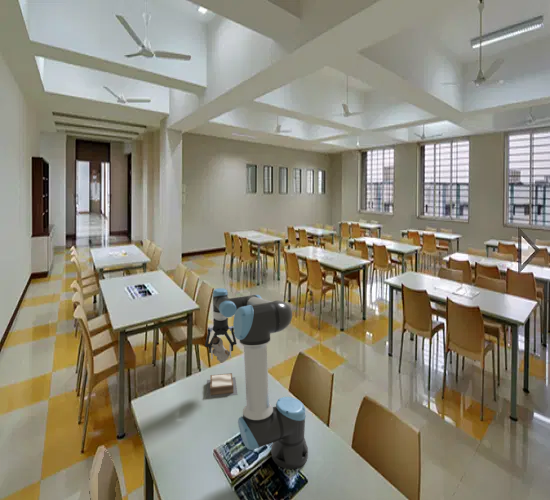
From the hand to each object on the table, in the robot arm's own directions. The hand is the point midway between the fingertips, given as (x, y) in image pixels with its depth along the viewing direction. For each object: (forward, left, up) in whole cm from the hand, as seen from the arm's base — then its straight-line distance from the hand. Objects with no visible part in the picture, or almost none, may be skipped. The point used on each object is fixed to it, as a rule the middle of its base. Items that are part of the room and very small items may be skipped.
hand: (221, 357), depth 167 cm
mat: (0, 0, -18) cm, 18 cm away
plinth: (0, 0, -18) cm, 18 cm away
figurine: (0, 0, -3) cm, 3 cm away
